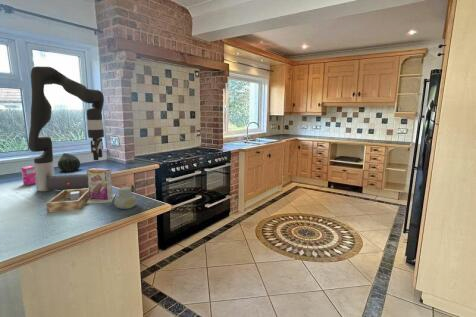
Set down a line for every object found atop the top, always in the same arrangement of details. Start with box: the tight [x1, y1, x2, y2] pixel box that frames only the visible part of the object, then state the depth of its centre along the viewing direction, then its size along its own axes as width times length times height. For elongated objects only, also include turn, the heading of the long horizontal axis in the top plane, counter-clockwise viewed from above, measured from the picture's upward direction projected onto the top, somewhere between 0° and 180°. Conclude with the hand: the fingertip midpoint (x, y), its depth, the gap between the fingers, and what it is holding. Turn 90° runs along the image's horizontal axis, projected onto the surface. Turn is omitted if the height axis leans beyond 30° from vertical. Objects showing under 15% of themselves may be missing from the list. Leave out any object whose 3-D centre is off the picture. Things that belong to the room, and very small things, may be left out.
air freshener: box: [113, 186, 138, 210], centre depth 134 cm, size 11×8×10 cm
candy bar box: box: [86, 167, 114, 200], centre depth 144 cm, size 11×5×16 cm, turn 81°
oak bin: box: [45, 188, 90, 213], centre depth 139 cm, size 14×22×4 cm, turn 14°
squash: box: [57, 152, 81, 173], centre depth 212 cm, size 14×15×15 cm
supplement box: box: [20, 165, 36, 186], centre depth 173 cm, size 6×6×12 cm
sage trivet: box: [86, 193, 116, 205], centre depth 145 cm, size 12×12×1 cm
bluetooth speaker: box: [47, 173, 89, 192], centre depth 160 cm, size 23×9×10 cm, turn 106°
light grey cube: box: [69, 191, 80, 201], centre depth 145 cm, size 4×4×4 cm
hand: (98, 158), depth 141 cm, fingers open, 8 cm apart
